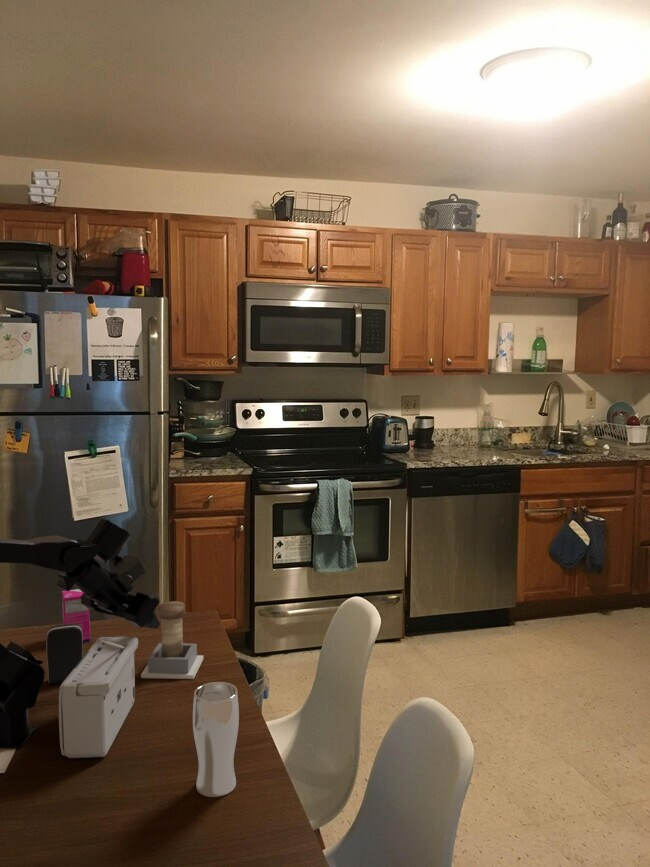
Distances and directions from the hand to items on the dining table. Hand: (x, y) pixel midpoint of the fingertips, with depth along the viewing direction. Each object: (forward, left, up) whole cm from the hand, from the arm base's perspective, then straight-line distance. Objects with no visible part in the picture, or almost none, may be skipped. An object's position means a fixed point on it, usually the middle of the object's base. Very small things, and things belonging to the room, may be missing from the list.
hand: (144, 621), depth 136 cm
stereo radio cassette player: (-19, +2, -13) cm, 23 cm away
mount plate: (+7, -4, -13) cm, 15 cm away
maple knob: (+6, -4, -12) cm, 14 cm away
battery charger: (+1, +17, -13) cm, 21 cm away
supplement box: (+22, +23, -13) cm, 34 cm away
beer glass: (-34, -21, -13) cm, 43 cm away
